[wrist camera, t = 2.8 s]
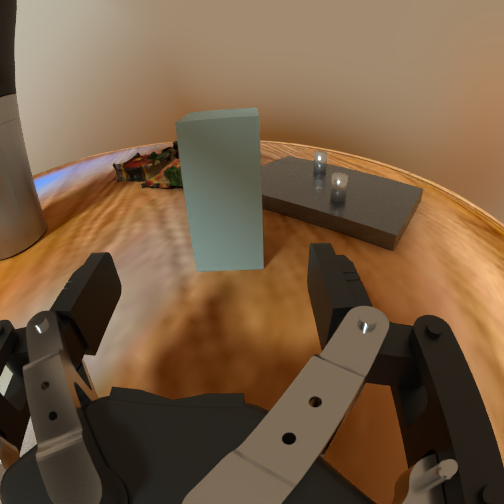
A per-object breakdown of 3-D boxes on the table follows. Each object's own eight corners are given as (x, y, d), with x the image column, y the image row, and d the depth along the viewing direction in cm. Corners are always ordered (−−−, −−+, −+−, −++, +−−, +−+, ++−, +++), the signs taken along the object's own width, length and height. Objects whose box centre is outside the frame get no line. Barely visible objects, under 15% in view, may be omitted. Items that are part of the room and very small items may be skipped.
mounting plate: (220, 195, 35) (218, 162, 32) (287, 165, 43) (287, 139, 41) (392, 250, 24) (401, 208, 21) (421, 200, 32) (426, 169, 30)
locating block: (196, 271, 22) (175, 122, 16) (204, 237, 27) (190, 112, 21) (263, 269, 22) (259, 116, 16) (261, 235, 27) (256, 107, 21)
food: (181, 148, 59) (179, 132, 57) (264, 154, 52) (264, 135, 50) (101, 187, 43) (96, 166, 41) (195, 200, 36) (191, 172, 34)
